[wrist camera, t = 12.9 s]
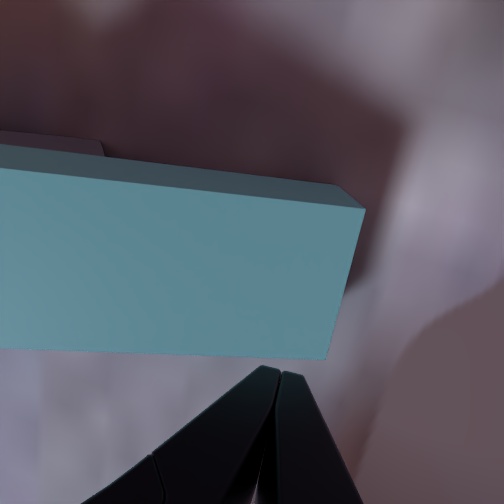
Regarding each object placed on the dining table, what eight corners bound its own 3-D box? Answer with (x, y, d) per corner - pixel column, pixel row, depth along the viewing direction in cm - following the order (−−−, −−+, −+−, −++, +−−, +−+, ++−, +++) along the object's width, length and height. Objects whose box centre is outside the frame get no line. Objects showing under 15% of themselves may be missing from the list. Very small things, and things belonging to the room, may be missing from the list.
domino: (365, 208, 13) (-40, 163, 11) (325, 360, 15) (-26, 347, 12) (336, 185, 15) (-5, 143, 13) (305, 319, 17) (2, 302, 15)
